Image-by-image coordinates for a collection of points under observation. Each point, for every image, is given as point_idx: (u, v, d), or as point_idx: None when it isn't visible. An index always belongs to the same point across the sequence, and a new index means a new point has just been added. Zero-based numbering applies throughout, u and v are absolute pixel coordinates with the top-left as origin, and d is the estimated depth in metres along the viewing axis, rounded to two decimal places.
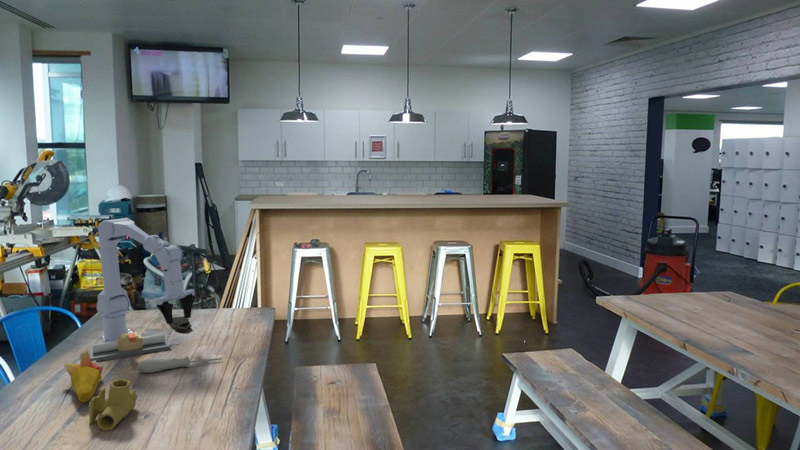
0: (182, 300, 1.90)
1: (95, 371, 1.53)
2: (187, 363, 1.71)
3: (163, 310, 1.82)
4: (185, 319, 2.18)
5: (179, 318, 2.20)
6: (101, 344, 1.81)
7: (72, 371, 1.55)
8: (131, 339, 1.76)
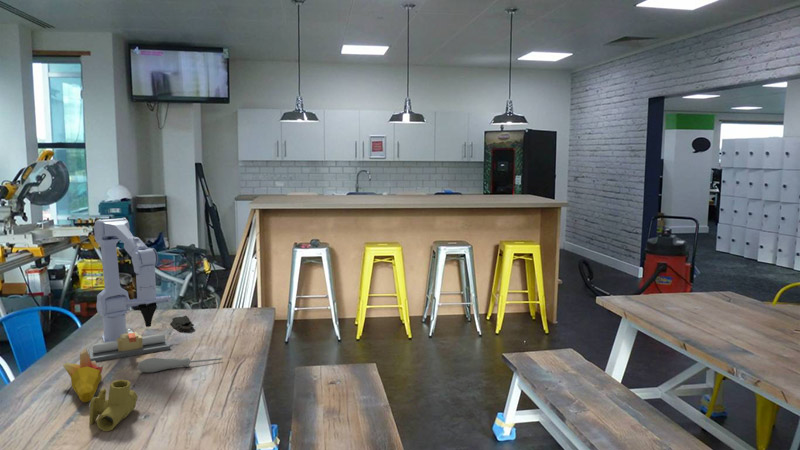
0: (147, 307, 1.81)
1: (95, 371, 1.54)
2: (187, 363, 1.71)
3: None
4: (186, 319, 2.18)
5: (180, 318, 2.20)
6: (101, 344, 1.81)
7: (72, 371, 1.55)
8: (131, 339, 1.76)
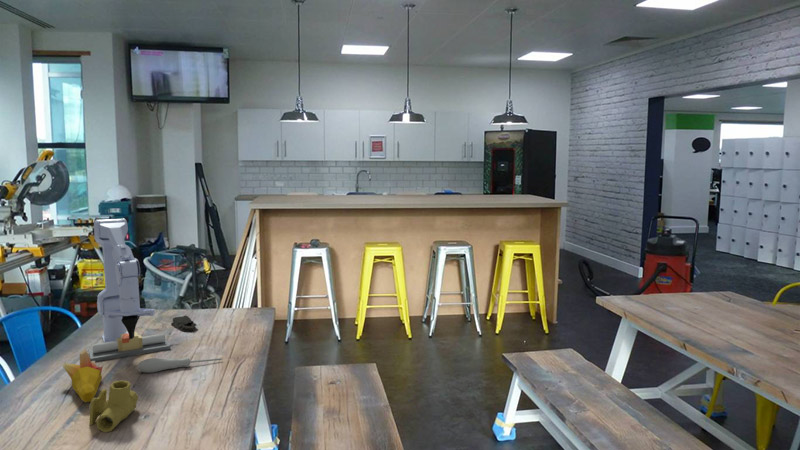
0: None
1: (96, 371, 1.54)
2: (187, 363, 1.71)
3: None
4: (187, 319, 2.18)
5: (181, 318, 2.20)
6: (101, 344, 1.81)
7: (72, 372, 1.55)
8: (124, 340, 1.75)
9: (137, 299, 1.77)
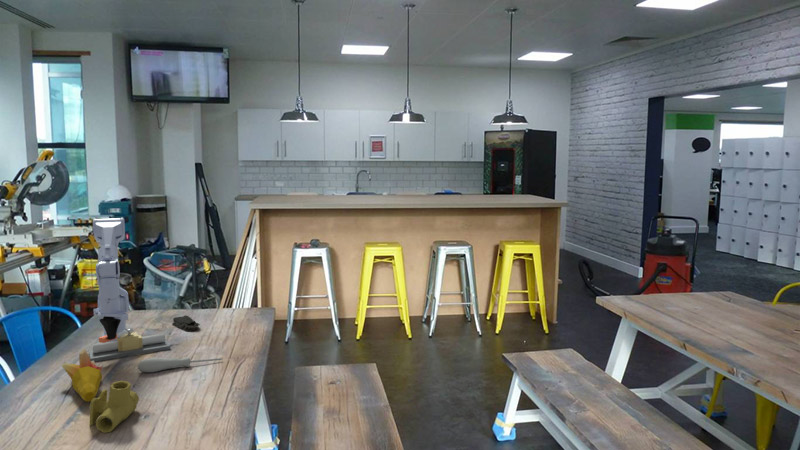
0: None
1: (96, 371, 1.54)
2: (187, 363, 1.71)
3: None
4: (189, 318, 2.19)
5: (181, 318, 2.20)
6: (101, 344, 1.81)
7: (72, 371, 1.55)
8: (100, 339, 1.75)
9: (112, 301, 1.74)
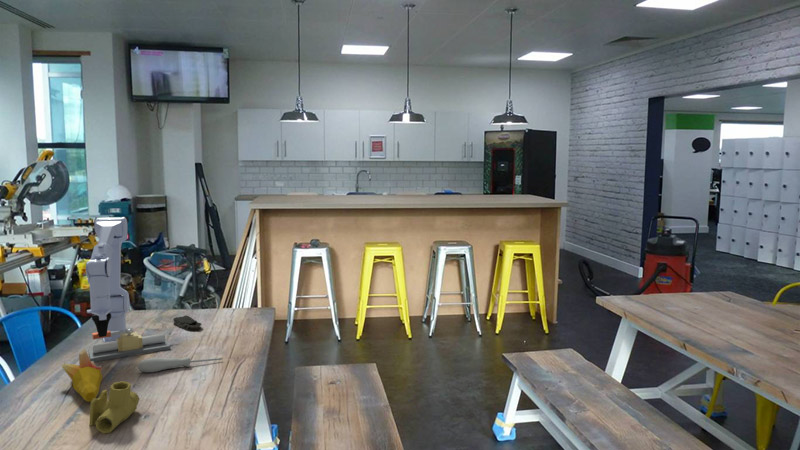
0: None
1: (96, 371, 1.54)
2: (188, 363, 1.72)
3: None
4: (190, 318, 2.19)
5: (182, 318, 2.20)
6: (101, 344, 1.81)
7: (72, 372, 1.55)
8: (92, 335, 1.80)
9: (97, 299, 1.75)
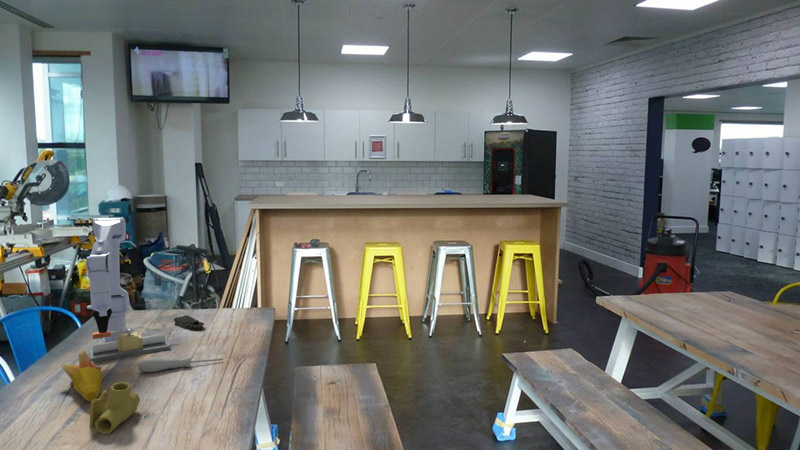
0: None
1: (97, 371, 1.54)
2: (188, 363, 1.71)
3: None
4: (191, 318, 2.19)
5: (183, 318, 2.20)
6: (101, 344, 1.81)
7: (72, 372, 1.55)
8: (92, 335, 1.80)
9: (98, 295, 1.72)
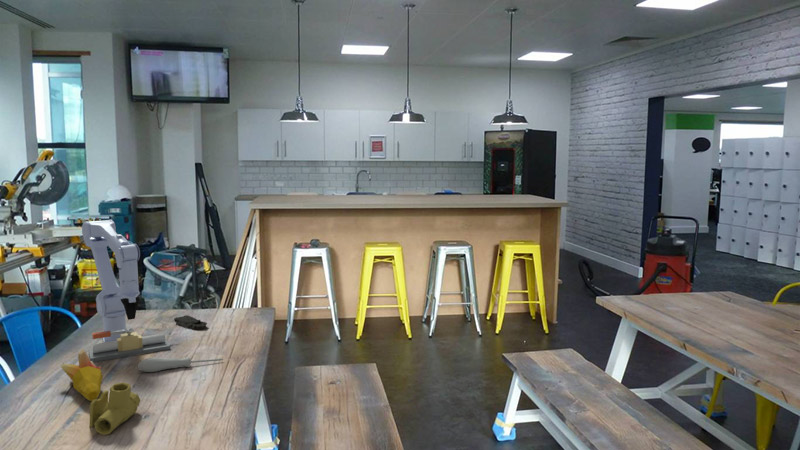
0: None
1: (97, 370, 1.54)
2: (188, 363, 1.71)
3: None
4: (192, 318, 2.19)
5: (184, 318, 2.20)
6: (101, 344, 1.81)
7: (72, 372, 1.55)
8: (92, 335, 1.80)
9: (127, 283, 1.84)
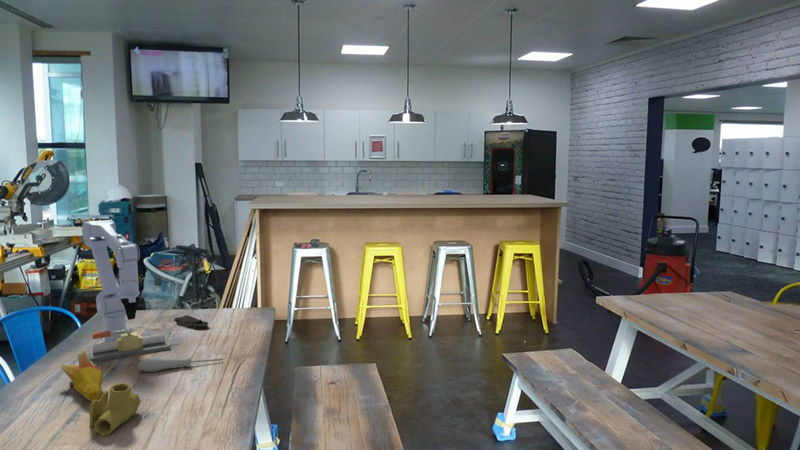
0: None
1: (97, 371, 1.54)
2: (188, 363, 1.71)
3: None
4: (192, 318, 2.20)
5: (184, 318, 2.20)
6: (101, 344, 1.81)
7: (72, 372, 1.55)
8: (92, 335, 1.80)
9: (127, 283, 1.84)
